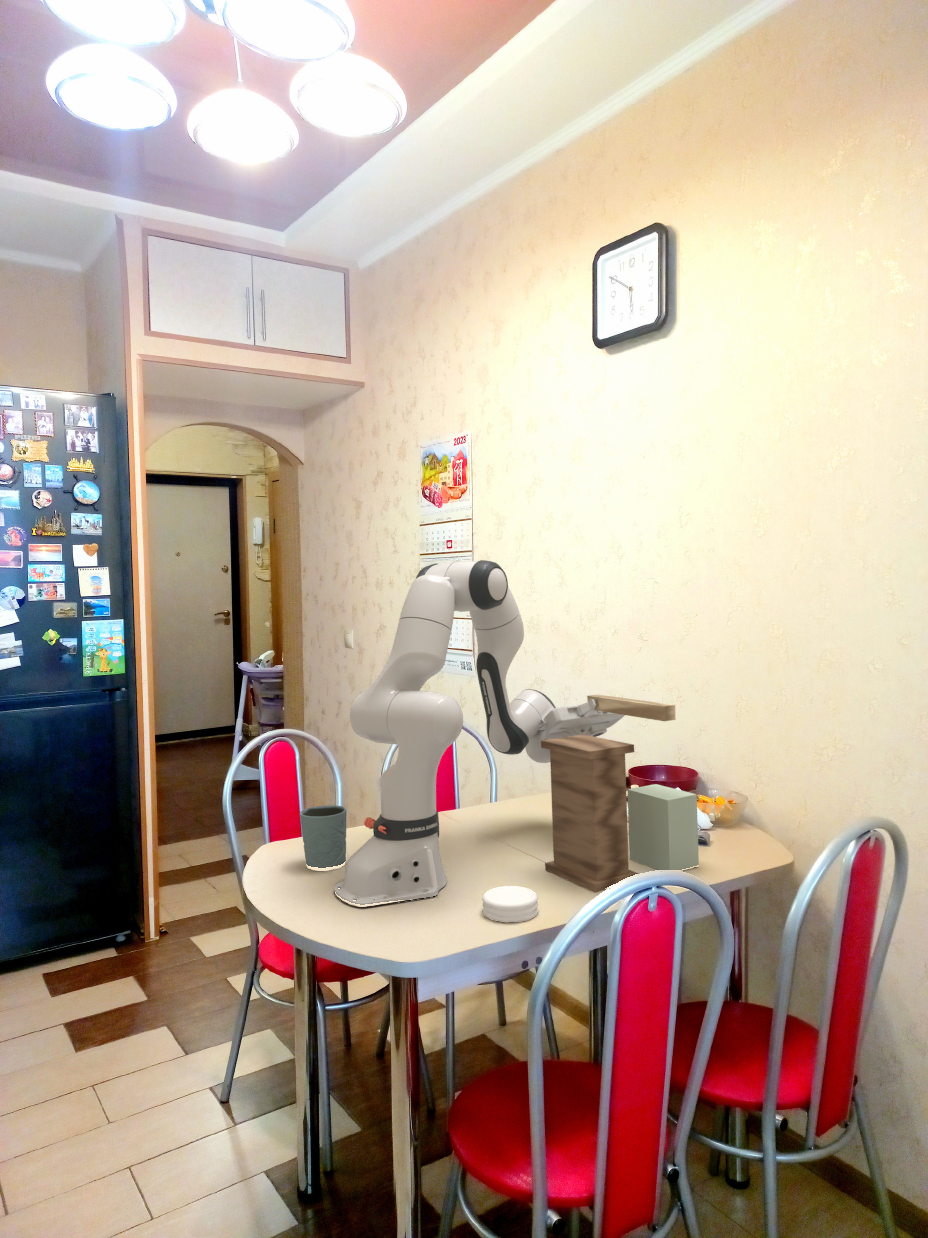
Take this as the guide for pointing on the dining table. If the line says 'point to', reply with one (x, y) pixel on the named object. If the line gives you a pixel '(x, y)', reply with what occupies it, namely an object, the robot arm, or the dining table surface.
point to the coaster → (510, 904)
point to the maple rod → (634, 707)
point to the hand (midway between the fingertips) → (603, 701)
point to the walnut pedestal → (589, 810)
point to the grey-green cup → (324, 835)
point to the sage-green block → (663, 827)
